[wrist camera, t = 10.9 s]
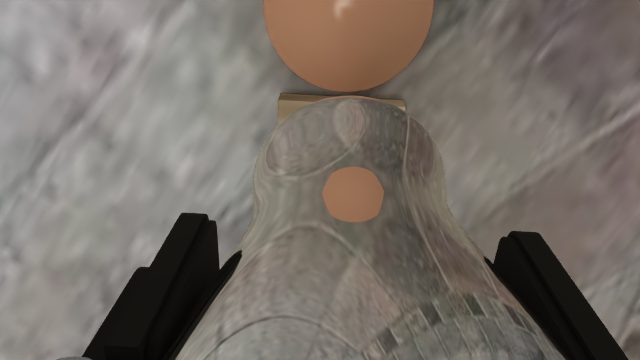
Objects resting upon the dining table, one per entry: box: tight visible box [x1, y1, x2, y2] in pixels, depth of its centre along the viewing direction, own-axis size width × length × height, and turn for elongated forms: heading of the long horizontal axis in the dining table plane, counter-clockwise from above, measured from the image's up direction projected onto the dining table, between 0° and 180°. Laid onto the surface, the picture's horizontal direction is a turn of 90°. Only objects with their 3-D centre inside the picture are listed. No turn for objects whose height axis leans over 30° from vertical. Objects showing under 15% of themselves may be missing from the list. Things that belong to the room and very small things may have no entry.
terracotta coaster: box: [264, 0, 434, 92], centre depth 27 cm, size 10×10×1 cm
